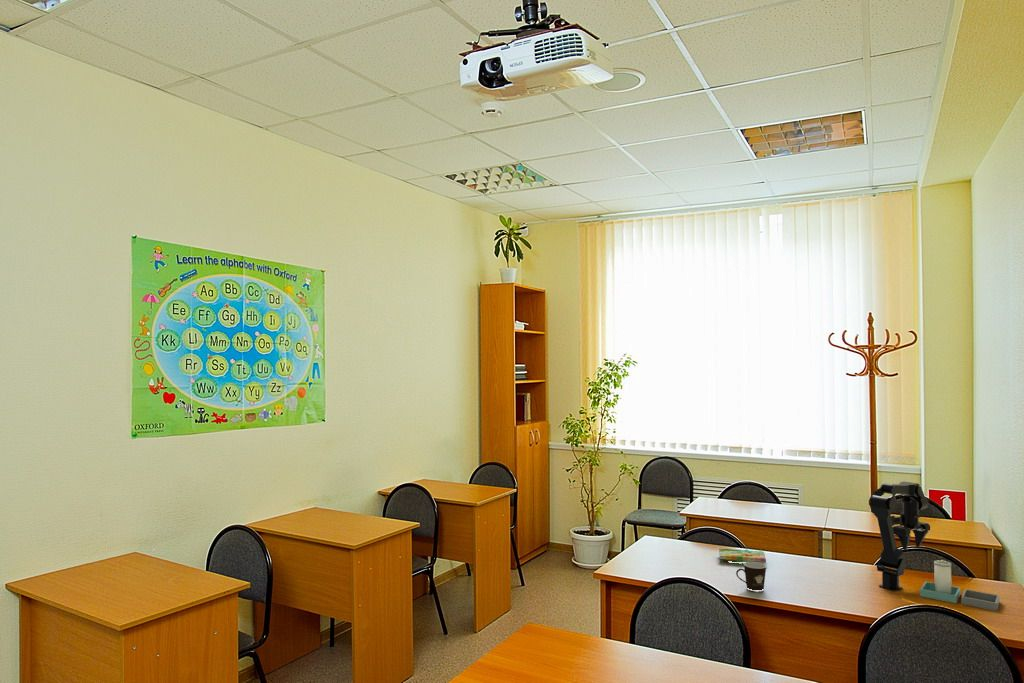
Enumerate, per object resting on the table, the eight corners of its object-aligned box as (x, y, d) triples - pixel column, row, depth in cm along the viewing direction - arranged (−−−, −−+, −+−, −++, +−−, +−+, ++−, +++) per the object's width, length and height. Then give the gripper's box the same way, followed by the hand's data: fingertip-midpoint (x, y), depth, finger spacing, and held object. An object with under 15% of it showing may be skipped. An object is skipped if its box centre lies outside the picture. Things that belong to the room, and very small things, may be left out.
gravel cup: (946, 599, 264) (946, 563, 264) (931, 595, 269) (930, 559, 269) (955, 596, 267) (954, 561, 267) (939, 592, 272) (938, 557, 272)
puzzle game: (765, 557, 307) (719, 553, 313) (766, 567, 307) (719, 564, 313) (763, 549, 319) (719, 546, 324) (763, 560, 319) (719, 556, 324)
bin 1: (956, 605, 260) (956, 596, 260) (920, 598, 268) (920, 589, 268) (960, 596, 269) (960, 587, 269) (925, 590, 277) (925, 581, 277)
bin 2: (996, 612, 252) (996, 603, 252) (961, 605, 259) (961, 596, 259) (999, 604, 261) (999, 595, 261) (965, 597, 268) (965, 588, 268)
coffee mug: (766, 587, 281) (766, 563, 281) (766, 594, 272) (766, 569, 273) (736, 584, 284) (736, 560, 285) (736, 591, 276) (736, 566, 276)
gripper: (905, 505, 302) (905, 541, 302) (879, 510, 293) (879, 547, 293) (930, 510, 292) (931, 547, 292) (904, 515, 283) (905, 553, 283)
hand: (911, 548), depth 290 cm, fingers open, 9 cm apart
